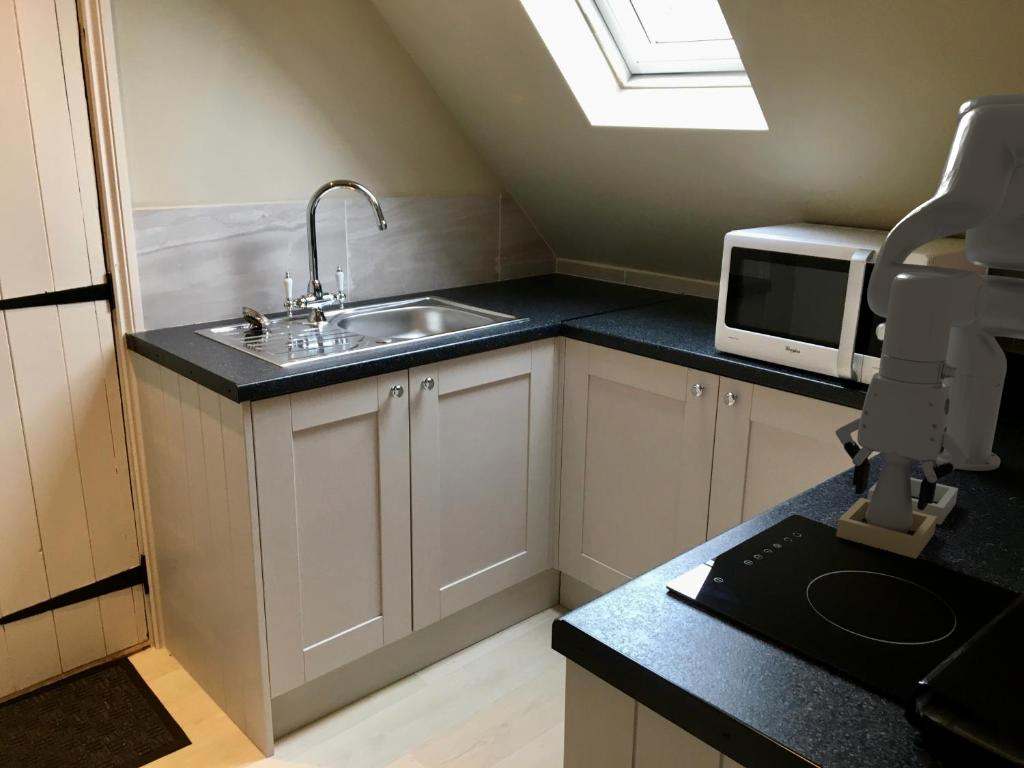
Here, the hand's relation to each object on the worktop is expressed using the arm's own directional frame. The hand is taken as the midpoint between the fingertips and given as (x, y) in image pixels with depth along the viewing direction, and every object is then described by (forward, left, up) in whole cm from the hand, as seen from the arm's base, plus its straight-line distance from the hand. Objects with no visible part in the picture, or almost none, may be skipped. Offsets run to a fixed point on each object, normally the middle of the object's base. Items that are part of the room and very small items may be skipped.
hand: (891, 498), depth 113 cm
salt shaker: (0, 0, -5) cm, 6 cm away
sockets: (-7, 0, -5) cm, 9 cm away
